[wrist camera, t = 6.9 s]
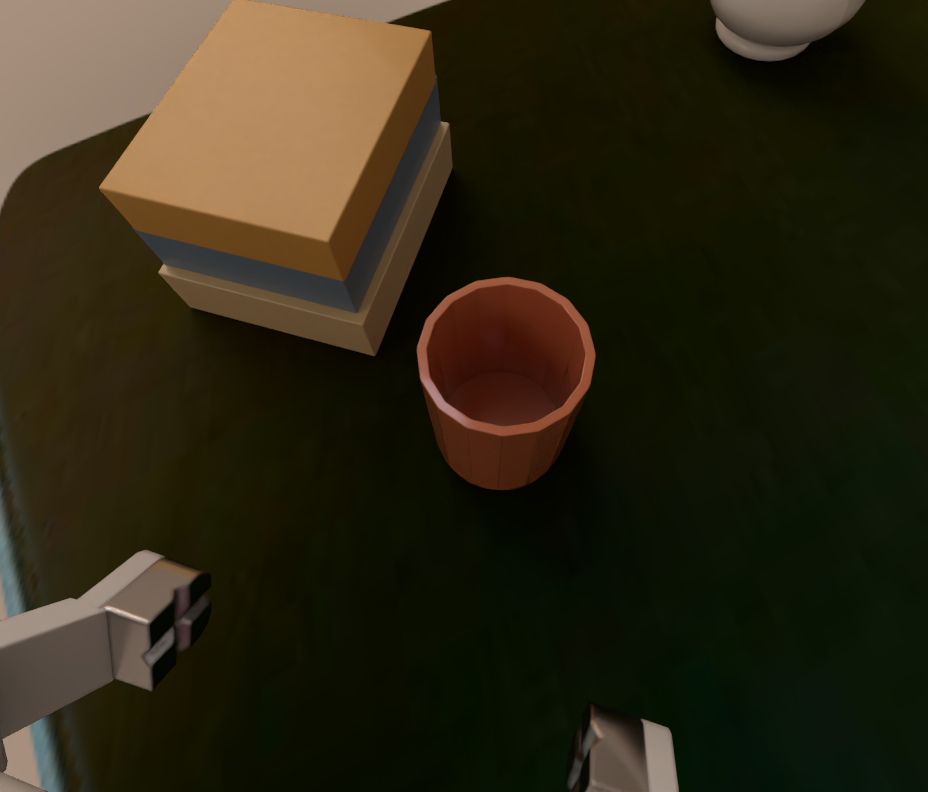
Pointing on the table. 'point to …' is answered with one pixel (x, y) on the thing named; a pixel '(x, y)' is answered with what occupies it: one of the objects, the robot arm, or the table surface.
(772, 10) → the flower vase
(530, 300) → the cup
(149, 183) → the book stack
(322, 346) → the table surface
